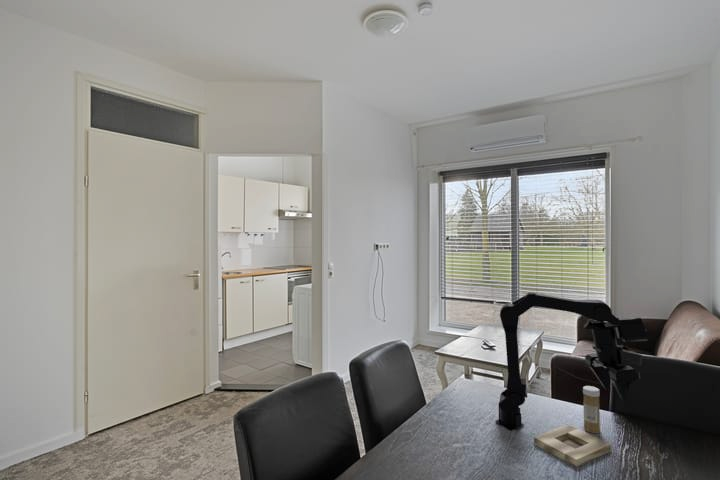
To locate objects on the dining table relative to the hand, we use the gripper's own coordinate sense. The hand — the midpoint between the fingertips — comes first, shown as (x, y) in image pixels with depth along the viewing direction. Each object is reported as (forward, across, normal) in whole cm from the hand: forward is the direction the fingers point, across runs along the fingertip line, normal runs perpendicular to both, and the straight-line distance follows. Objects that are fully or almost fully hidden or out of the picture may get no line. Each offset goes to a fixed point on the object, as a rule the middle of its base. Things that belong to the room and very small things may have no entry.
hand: (616, 395), depth 109 cm
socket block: (+12, -3, +16) cm, 20 cm away
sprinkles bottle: (+14, +8, +6) cm, 17 cm away
